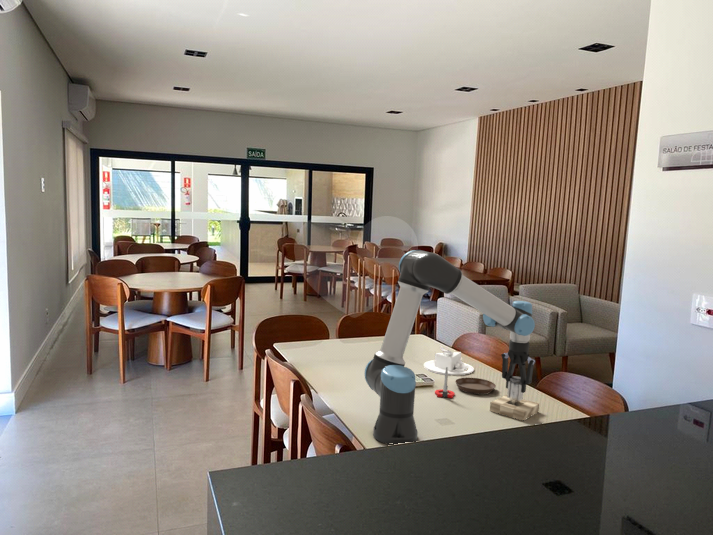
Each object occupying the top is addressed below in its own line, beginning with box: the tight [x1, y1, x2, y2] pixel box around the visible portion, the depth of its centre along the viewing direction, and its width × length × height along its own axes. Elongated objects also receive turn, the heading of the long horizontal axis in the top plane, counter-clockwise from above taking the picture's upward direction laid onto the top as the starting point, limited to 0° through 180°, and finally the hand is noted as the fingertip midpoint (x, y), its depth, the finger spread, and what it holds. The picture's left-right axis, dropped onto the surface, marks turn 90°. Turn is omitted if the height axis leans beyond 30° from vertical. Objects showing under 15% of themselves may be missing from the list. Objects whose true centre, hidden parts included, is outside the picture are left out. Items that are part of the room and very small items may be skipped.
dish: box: [423, 345, 475, 376], centre depth 270 cm, size 25×25×11 cm
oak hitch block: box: [489, 394, 540, 421], centre depth 213 cm, size 14×14×4 cm
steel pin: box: [509, 375, 521, 406], centre depth 212 cm, size 5×5×13 cm
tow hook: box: [434, 367, 456, 399], centre depth 229 cm, size 8×13×9 cm
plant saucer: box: [454, 377, 497, 395], centre depth 239 cm, size 18×18×3 cm
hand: (514, 398), depth 212 cm, fingers closed on steel pin, 4 cm apart
